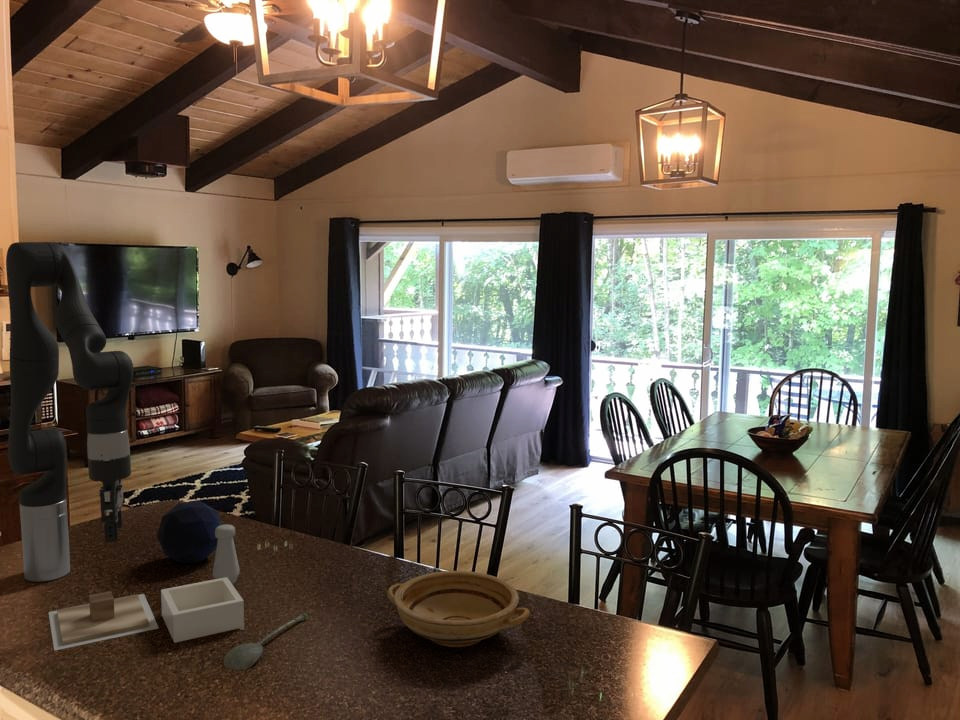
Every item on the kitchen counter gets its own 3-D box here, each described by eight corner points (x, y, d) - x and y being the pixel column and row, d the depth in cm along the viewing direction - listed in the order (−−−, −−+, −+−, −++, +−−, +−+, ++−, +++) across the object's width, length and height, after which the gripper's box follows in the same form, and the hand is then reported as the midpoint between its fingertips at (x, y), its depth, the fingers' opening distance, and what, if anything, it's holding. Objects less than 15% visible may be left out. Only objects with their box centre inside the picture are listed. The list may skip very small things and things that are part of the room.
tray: (48, 614, 162) (48, 612, 162) (144, 596, 171) (144, 593, 171) (54, 653, 147) (54, 650, 147) (158, 631, 156) (158, 628, 156)
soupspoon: (214, 670, 144) (243, 681, 141) (214, 653, 143) (243, 663, 140) (291, 616, 163) (318, 624, 161) (291, 601, 163) (318, 609, 160)
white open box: (162, 618, 161) (160, 589, 160) (227, 604, 168) (227, 577, 167) (174, 645, 150) (173, 615, 149) (244, 629, 157) (243, 600, 156)
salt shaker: (231, 588, 176) (230, 531, 174) (207, 586, 177) (206, 529, 175) (244, 578, 181) (243, 523, 180) (221, 576, 182) (219, 520, 181)
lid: (57, 613, 161) (56, 590, 161) (137, 597, 169) (136, 576, 168) (62, 645, 149) (61, 620, 148) (149, 626, 156) (148, 603, 156)
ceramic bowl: (547, 621, 162) (548, 584, 161) (504, 679, 140) (505, 636, 139) (417, 595, 174) (417, 560, 173) (358, 645, 151) (358, 605, 150)
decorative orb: (208, 520, 203) (174, 483, 194) (246, 533, 195) (213, 494, 186) (169, 567, 195) (132, 530, 186) (207, 582, 187) (170, 544, 178)
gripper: (92, 448, 162) (97, 526, 163) (82, 463, 148) (88, 548, 150) (132, 445, 164) (137, 522, 166) (126, 460, 151) (131, 543, 152)
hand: (114, 534), depth 158 cm, fingers open, 8 cm apart
